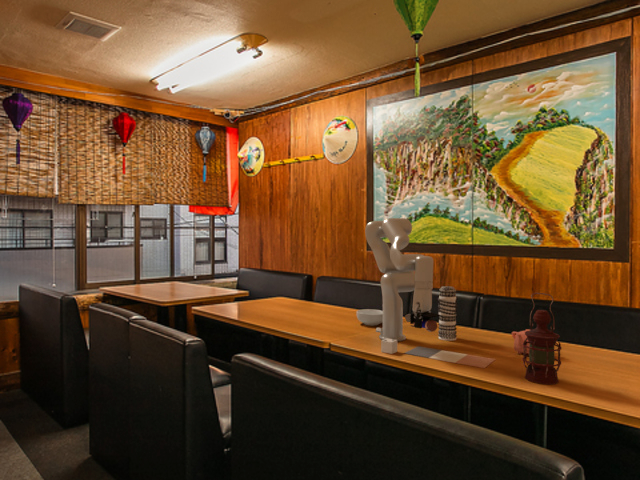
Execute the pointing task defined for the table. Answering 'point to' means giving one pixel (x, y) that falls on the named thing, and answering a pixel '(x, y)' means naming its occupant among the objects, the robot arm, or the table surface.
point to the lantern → (542, 349)
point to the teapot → (520, 341)
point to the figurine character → (429, 324)
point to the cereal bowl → (370, 316)
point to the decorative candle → (447, 313)
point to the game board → (451, 356)
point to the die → (389, 346)
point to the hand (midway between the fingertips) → (422, 325)
